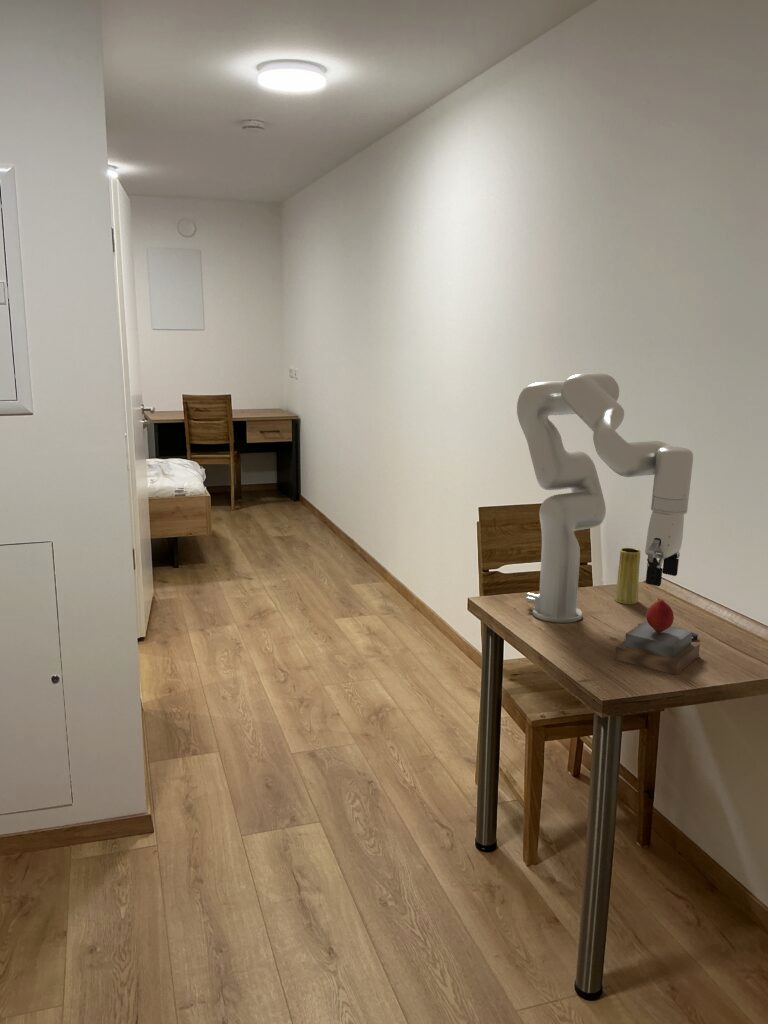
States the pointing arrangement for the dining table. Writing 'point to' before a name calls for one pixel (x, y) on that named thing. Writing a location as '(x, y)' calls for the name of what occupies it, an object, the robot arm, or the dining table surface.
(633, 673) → the dining table surface
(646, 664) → the wood and metal stack
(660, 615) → the onion
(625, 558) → the vase
